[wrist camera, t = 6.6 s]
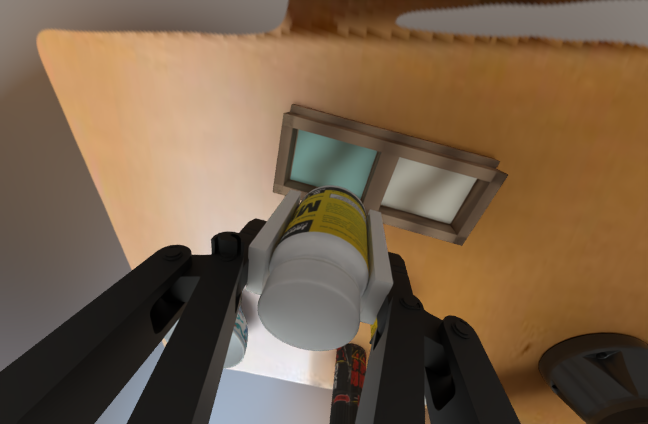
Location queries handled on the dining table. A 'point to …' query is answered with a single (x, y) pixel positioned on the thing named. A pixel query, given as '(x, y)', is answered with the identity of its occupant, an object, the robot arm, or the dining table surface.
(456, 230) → the divided tray
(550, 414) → the dining table surface
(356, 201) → the supplement bottle
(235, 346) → the chinaware
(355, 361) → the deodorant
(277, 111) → the dining table surface
